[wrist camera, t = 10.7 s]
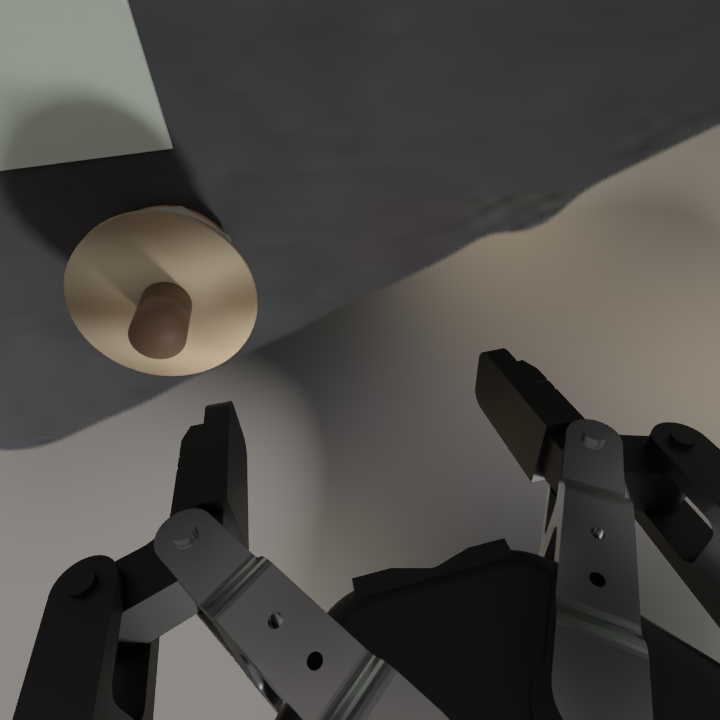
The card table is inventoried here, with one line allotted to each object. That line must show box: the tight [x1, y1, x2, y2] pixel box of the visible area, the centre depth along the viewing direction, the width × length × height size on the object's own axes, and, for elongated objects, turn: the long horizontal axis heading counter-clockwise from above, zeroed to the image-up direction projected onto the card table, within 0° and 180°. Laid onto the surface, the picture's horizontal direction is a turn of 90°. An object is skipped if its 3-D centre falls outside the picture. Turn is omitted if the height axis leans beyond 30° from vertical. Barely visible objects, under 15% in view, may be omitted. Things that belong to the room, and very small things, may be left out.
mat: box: [0, 0, 173, 171], centre depth 25 cm, size 13×13×1 cm
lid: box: [64, 210, 257, 376], centre depth 28 cm, size 12×12×6 cm
